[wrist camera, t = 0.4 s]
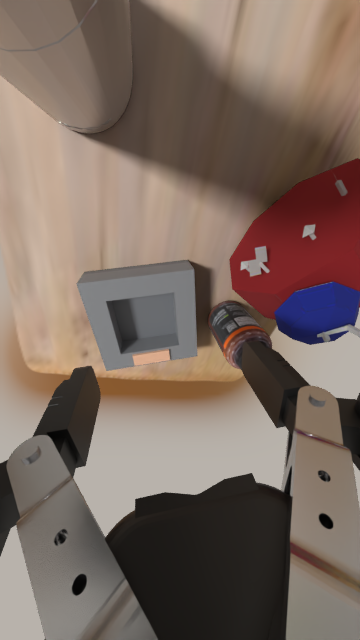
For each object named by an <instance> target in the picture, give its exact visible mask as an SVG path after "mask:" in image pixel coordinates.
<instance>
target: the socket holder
mask: <svg viewBox="0 0 360 640" xmlns="http://www.w3.org/2000/svg"><path fill="white" fill-rule="evenodd" d="M77 287H78V290H79V292H80V295H81V298H82V301H83V304H84V307H85V310H86V313H87V316H88V319H89V321H90V324H91V327H92V330H93V333H94V336H95V339H96V342H97V345H98V347H99V350H100V353H101V356H102V359H103V362H104V365H105V368H106V371H109V370H115V369H121V368H127V367H133V366H139V365H145V364H152V363H158V362H164V361H170V360H176V359H182V358H188V357H195V356H197V334H196V306H195V278H194V269H193V267H192V266H191V264H190V263H189V261H188V260H182V261H174V262H165V263H157V264H148V265H140V266H131V267H123V268H114V269H105V270H97V271H88V272H84V274H83V275H82V276H81V278H80V279H79V281H78V282H77Z"/></svg>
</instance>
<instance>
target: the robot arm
mask: <svg viewBox="0 0 360 640" xmlns="http://www.w3.org/2000/svg"><path fill="white" fill-rule="evenodd" d="M0 75H1V76H2V77H3V78H4V79H6V80H7V81H8V82H9V83H10V84H12V85H13V86H14V87H15V88H17V89H18V90H19V91H20V92H21V93H23V94H24V95H25V96H26V97H27V98H29V99H30V100H31V101H32V102H33V103H35V104H36V105H37V106H38V107H40V108H41V109H42V110H43V111H45V112H46V113H47V114H48V115H50V116H51V117H52V118H53V119H54V120H56V121H57V122H58V123H60V124H62V125H63V126H65V127H67V128H68V129H71V130H74V131H77V132H80V133H90V134H92V133H98V132H102V131H104V130H106V129H108V128H110V127H112V126H113V125H114V124H115V123H116V122H117V121H118V120H119V119H120V117H121V116H122V114H123V113H124V111H125V109H126V107H127V104H128V101H129V99H130V95H131V89H132V83H133V62H132V40H131V22H130V5H129V0H0ZM242 371H243V374H244V376H245V378H246V380H247V381H248V383H249V384H250V386H251V388H252V389H253V391H254V392H255V394H256V396H257V397H258V399H259V400H260V402H261V404H262V405H263V407H264V408H265V410H266V412H267V413H268V415H269V417H270V418H271V420H272V421H273V423H274V424H275V426H276V428H279V427H284V426H286V428H287V429H288V431H289V432H288V438H287V448H286V457H285V467H284V475H283V482H282V487H281V490H279V489H277V488H275V487H272V486H269V485H266V484H262V483H256V481H255V479H254V477H253V475H252V473H250V474H246V475H242V476H237V477H233V478H228V479H224V480H223V481H221V482H219V483H217V484H216V485H214V486H212V487H210V488H209V489H207V490H205V491H204V492H202V493H200V494H198V495H190V494H178V493H166V492H165V493H161V494H157V495H152V496H147V497H143V498H138V499H135V510H134V511H133V512H131V513H129V514H128V515H127V516H125V517H124V518H123V519H122V520H121V521H119V522H118V523H117V524H116V525H115V527H114V528H113V529H112V530H111V531H110V532H109V534H108V535H107V536H106V538H105V536H104V534H103V532H102V531H101V529H100V527H99V525H98V523H97V522H96V520H95V518H94V516H93V514H92V512H91V510H90V509H89V507H88V505H87V503H86V501H85V499H84V497H83V496H82V494H81V492H80V490H79V488H78V486H77V484H76V483H75V481H74V479H73V476H74V472H75V469H76V468H78V467H82V466H85V465H86V461H87V457H88V452H89V448H90V443H91V439H92V434H93V430H94V425H95V421H96V416H97V412H98V408H99V403H100V388H99V385H98V382H97V380H96V376H95V373H94V370H93V368H92V366H86V367H80V368H75V369H74V370H73V373H72V375H71V377H70V379H69V380H64V381H63V382H62V383H61V384H60V385H59V386H58V387H57V389H56V390H55V392H54V394H53V396H52V400H50V402H49V404H48V407H47V409H46V411H45V412H44V415H43V417H42V419H41V421H40V423H39V425H38V427H37V429H36V431H35V433H34V435H33V437H32V438H30V439H28V440H26V441H24V442H23V443H22V444H21V445H19V446H18V447H17V448H16V449H15V450H14V451H13V453H12V454H11V456H10V457H9V459H8V460H7V461H5V462H3V463H0V556H1V553H2V550H3V547H4V545H5V542H6V539H7V537H8V534H9V531H10V529H11V528H12V527H13V526H15V525H17V530H18V535H19V539H20V542H21V546H22V550H23V554H24V558H25V562H26V566H27V570H28V574H29V577H30V581H31V585H32V589H33V592H34V597H35V600H36V604H37V608H38V612H39V616H40V619H41V623H42V627H43V631H44V635H45V640H360V508H359V502H358V495H357V489H356V482H355V476H354V468H353V463H354V464H355V465H356V466H357V468H358V469H359V470H360V393H359V396H358V398H357V400H355V399H343V398H335V397H334V396H333V395H332V394H331V393H330V392H328V391H326V390H324V389H322V388H319V387H315V386H310V385H309V384H308V383H307V382H306V381H305V380H304V378H303V377H301V375H300V374H299V373H298V372H297V371H296V370H295V369H294V368H293V367H292V366H290V364H289V363H288V362H287V361H285V359H284V358H283V357H282V356H281V355H280V354H279V353H278V352H276V351H274V350H273V349H271V348H265V346H264V345H263V344H262V343H261V342H260V341H259V340H255V341H249V342H244V343H243V351H242ZM352 461H353V462H352Z"/></svg>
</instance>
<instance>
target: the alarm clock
mask: <svg viewBox="0 0 360 640" xmlns="http://www.w3.org/2000/svg"><path fill="white" fill-rule="evenodd" d="M230 269H231V279H232V289H233V290H234V291H235V292H236V293H237V294H239V295H240V296H241V297H242V298H243V299H244V300H246V301H247V302H248V303H249V304H250V305H251V306H253V307H254V308H255V309H256V310H257V311H258V312H260V313H261V314H262V315H263V316H264V317H267V318H270V319H274V320H276V322H277V326H278V329H279V331H281V332H282V333H284V334H286V335H287V336H289V337H290V338H292V339H294V340H297V341H300V342H304V343H307V344H310V345H311V344H317V343H323V342H330V341H335V340H336V339H338V338H339V337H341V336H342V335H344V334H346V333H347V332H349V331H350V332H351V333H353V334H355V335H357V336H358V337H360V330H359V329H358V328H356V327H354V326H355V322H356V319H357V316H358V312H359V307H360V159H358V158H357V159H355V160H352V161H350V162H347V163H345V164H343V165H340V166H338V167H335V168H333V169H331V170H328V171H326V172H323V173H321V174H319V175H316V176H314V177H311V178H309V179H307V180H304V181H302V182H299V183H298V184H296V185H295V186H294V187H293V188H292V189H291V190H289V191H288V192H287V193H286V194H285V195H284V196H282V197H281V198H280V199H279V200H278V201H277V202H275V203H274V204H273V205H272V206H271V207H270V208H268V209H267V210H266V211H265V212H264V213H263V214H261V215H260V216H259V217H258V218H257V219H256V220H254V221H253V223H252V224H251V226H250V227H249V229H248V231H247V232H246V234H245V235H244V237H243V239H242V240H241V242H240V243H239V245H238V247H237V248H236V250H235V251H234V253H233V255H232V256H231V258H230Z"/></svg>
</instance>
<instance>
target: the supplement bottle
mask: <svg viewBox="0 0 360 640" xmlns="http://www.w3.org/2000/svg"><path fill="white" fill-rule="evenodd" d="M208 325H209V328H210V330H211V332H212V333H213V335H214V337H215V339H216V341H217V343H218V345H219V347H220V349H221V350H222V352H223V354H224V356H225V358H226V360H227V361H228V362H229V364H230V365H232V366H233V367H235V368H238V369H241V370H242V351H243V343H244V342H249V341H255V340H259V341H260V342H261V343H262V344H263V345H264V346H265V348H271V349H272V342H271V339H270V337H269V335H268V334H267V333H266V332H265V331H264V330H263V328H262V327H261V326H260V325H259V324H258V323H257V322H256V321H255V320H254V319H253V318H252V316H251V315H250V314H249V313H248V312H247V311H246V310H245V309H244V308H243V307H242V306H241V305H240V304H239V303H237V302H234V301H225V302H222V303H219V304H218V305H216V306H215V307H214V308H213V309H212V310H211V312H210V314H209V317H208ZM242 372H243V371H242Z"/></svg>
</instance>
